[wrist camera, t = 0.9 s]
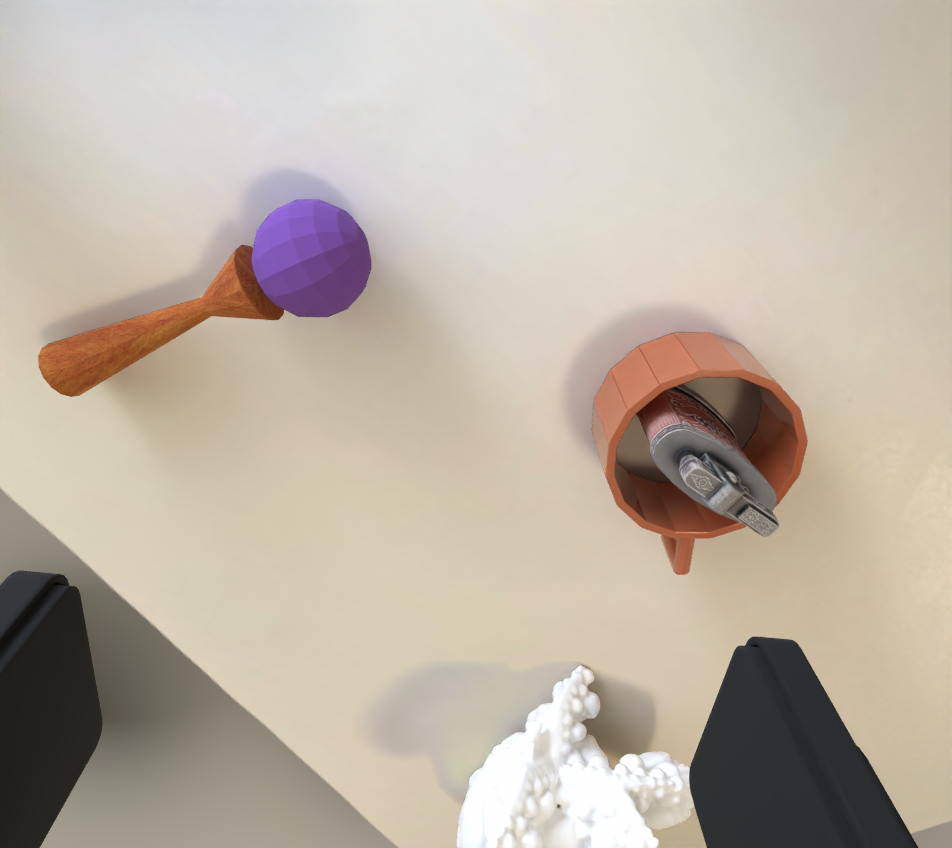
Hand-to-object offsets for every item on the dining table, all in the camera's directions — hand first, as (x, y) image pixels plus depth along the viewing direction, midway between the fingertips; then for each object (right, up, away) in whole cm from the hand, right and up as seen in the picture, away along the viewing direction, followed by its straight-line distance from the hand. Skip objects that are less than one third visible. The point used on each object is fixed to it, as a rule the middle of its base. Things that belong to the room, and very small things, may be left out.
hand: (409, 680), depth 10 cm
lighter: (+14, +4, +34) cm, 37 cm away
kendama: (-14, +11, +30) cm, 35 cm away
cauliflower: (+8, -23, +48) cm, 54 cm away
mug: (+14, +3, +34) cm, 37 cm away
